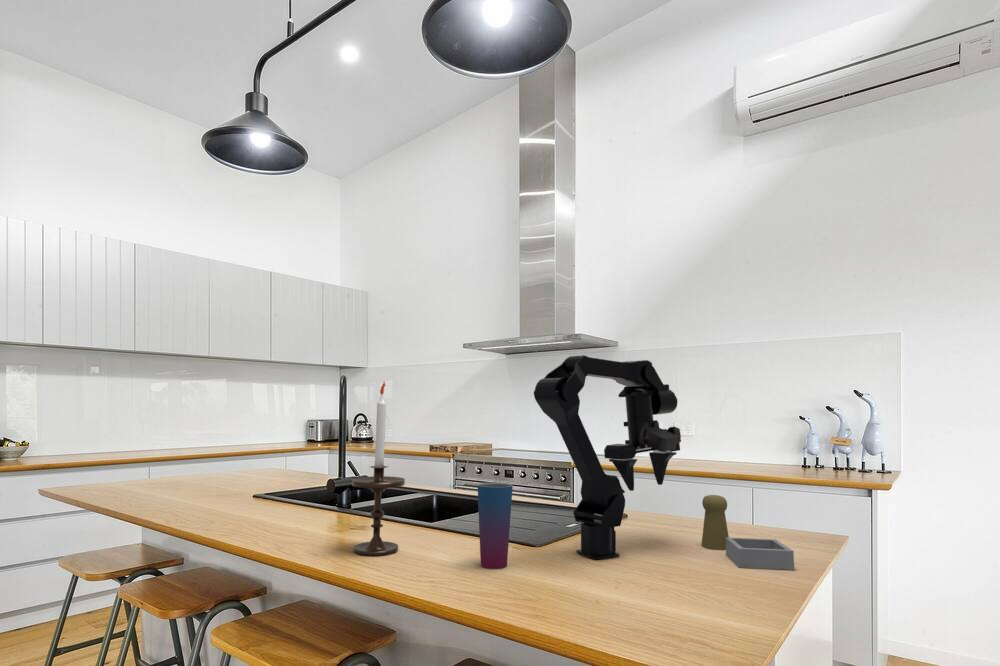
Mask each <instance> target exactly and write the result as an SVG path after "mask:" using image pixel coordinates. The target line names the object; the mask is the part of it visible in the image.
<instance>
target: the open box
mask: <svg viewBox="0 0 1000 666" xmlns="http://www.w3.org/2000/svg"><path fill="white" fill-rule="evenodd" d="M794 553H795V552H794V550H793V549H792V548H789V547H788V546H786V545H785V544H783V543H782V542H781V541H779V540H777V539H774V538H751V537H726V550H725V555H726V556H727V557H728V558H729V559H730V560H731V561H732V562H733V564H735V565H736V566H737V567H738V568H740V569H757V568H762V570H778V569H785V570H784V571H795V558H794V557H795V554H794ZM763 568H764V569H763ZM786 569H787V570H786Z"/></svg>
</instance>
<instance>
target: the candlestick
mask: <svg viewBox="0 0 1000 666" xmlns="http://www.w3.org/2000/svg"><path fill="white" fill-rule="evenodd" d="M385 387H386V383H385V380H383V383H382V385H381V387H380V390H379V393H380V396H379V397H380V398H379V400H378V401H377V402H376V417H375V418H376V419H375V420H376V421H375V422H376V423H375V446H374V465H372V466H369V468H370V469H371V468H372V469H373V476H361V477H356V478H352V479H351V486H352V487H354V488H362V489H368V490H371V492H372V493H374V505H373V506H374V509H373V510H372V511H371V512H370V517H371V518H372V519H373V520H372V521H373V522H372V524H371V525H370V528H372V530H373V531H372V532H373V533H372V537H371V539H370V540H369V541H365V542H361V543H358V544H355V545H354V546H353V551H352V552H353V554H355V555H357V556H360V557H386V556H390V555H393V554H394V555H395V554H397V553H398V552H399V544H398V543H395V542H392V541H391V542H390V541H383V540H382V537H381V528H383V527H384V524H382V518H383V517H384V515H385V512H384V510H382V509H381V508H382V493H384V492H385V490H388V489H391V488H398V487H403V486H405V482H406V480H405V478H404V477H400V476H390V475H389V476H388V475H387V476H385V469H386V468H389V466H388V465H387V466H386V465H385V439H386V417H387V416H386V413H387V411H386V410H387V402H385V400H384V393H385Z"/></svg>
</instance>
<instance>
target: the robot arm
mask: <svg viewBox="0 0 1000 666" xmlns="http://www.w3.org/2000/svg"><path fill="white" fill-rule="evenodd" d="M544 376H545V377H543V378H541V379H539V380H538V381H537V383H536V385H535V387H534V388H535V389H534V391H533V396H534V400H535V402H536V403H537V405H538V406H539V407H540V409H541V411H542V412H543V413H544V414H545V415H546V416H547V417H548V418H549V419H551V420H552V421H553V422H554V423H555V425H556V427H557V429H558V431H559V433H560V436H561V438H562V440H563V441H564V444H565V446H566V448H567V450H568V453H569V455H570V458H571V460H572V462H573V464H574V466H575V468H576V471H577V472H578V475H579V478H580V479H581V487H580V495H581V500H580V502H579V503H578V505H577V506H576V507H575V509H574V511H573V517H574V520H575V522H577V523H580V549H576V553H577V554H579V555H582V556H585V557H587V558H589V559H593V560H601V559H607V558H609V559H610V558H615V557H620V553H618V552H617V551H616V549H617V546H616V545H617V539H616V538H617V534H616V533H617V532H616V530H615V528H616V527H621V524H622V520H623V515H624V510H625V507H626V497H625V495H624V494H625V492H626V491H625V490H624V488H623V487H622V485H621V482H620V479H619V478H618V476H617V475H611V474H606V473H605V471H604V468H603V466H602V465H601V462H600V460H599V458H598V455H597V453H596V451H595V448H594V446H593V444H592V442H591V440H590V437H589V435H588V433H587V431H586V429H585V426H584V424H583V421H582V419H581V417H580V414H579V410H580V403H581V400H580V395H579V393H580V392H581V391H582V390H583V388H584V386H585V383H586V378H587V377H593V378H594V377H595V378H602V379H609V380H613V381H615V382H616V383H617V384H620V385H623V387H624V388H623V389H622V390H621V391H620V392H619V394H618V397H619V398H624V399H625V409H626V410H625V411H626V419H627V421H623V427H627V432H628V439H625V440H624V443H613V444H607V445H606V446H605V447H604V449H603V453H604V454H603V455H604V459H608V461H609V462H611V463H612V464H613V465H614V467H615V468H616V470H617V471H618V473H619V475H620V477H621V478H622V480H623V481H624V484H625V486H626V487H627V489H628V490H629V491H632V492H633V491H634V490H635V472H634V466H635V464H636V463H637V461H638V459H637V458H635V457H636V455H637V454H641V453H647V452H648V455H649V458H650V462H651V465H652V469H653V473H654V474H653V475H654V478H655V481H656V483H657V485H660V486H662V485H663V483H664V479H665V475H666V470H667V469H668V464H669V461H670V460H671V459H672V458H673V457H674V456H676V455H677V452H678V451H681V445H680V443H681V442H682V438H681V437H682V435H681V430H680V427H679V428H678V427H677V426H670V427H668V428H660V422H659V421H658V420H657V419H656V420H654V415H665V414H672V413H673V412H674V411H675V410H676V409H677V407H678V398H677V395H676V394H675V392H673V391H672V389H670V385H669V384H667V383H666V384H665V383H663V380H662V379H661V377H660V376H659V374H658V373H657V371H656V369H655V367H654V366H653V362H652V361H650V360H647V359H646V360H645V359H644V360H643V359H641V360H629V361H627V360H626V361H617V360H611V359H610V360H609V359H602V358H597V357H589V356H587V355H584V354H583V355H573V356H572V355H570V356H568V357H567V358H565V359H564V360H563V361H562V363H560V365H558V366H556V368H554V369H552V370H551V371H550V372H548V373H547V374H546V375H544Z"/></svg>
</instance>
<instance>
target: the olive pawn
mask: <svg viewBox="0 0 1000 666" xmlns="http://www.w3.org/2000/svg"><path fill="white" fill-rule="evenodd" d="M702 508H703V509H704V519H703V526H702V527H703V529H702V536H701V537H702V538H701V546H700V547H702V548H704V549H709V550H714V551H726V537H729V531H728V524H727V523H728V522H727V517H726V511H727V509H728V500H727V499H726V498H725V497H724V496H722V495H716V494H710V495H709V494H708V495H705V496H704V497H702Z"/></svg>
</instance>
